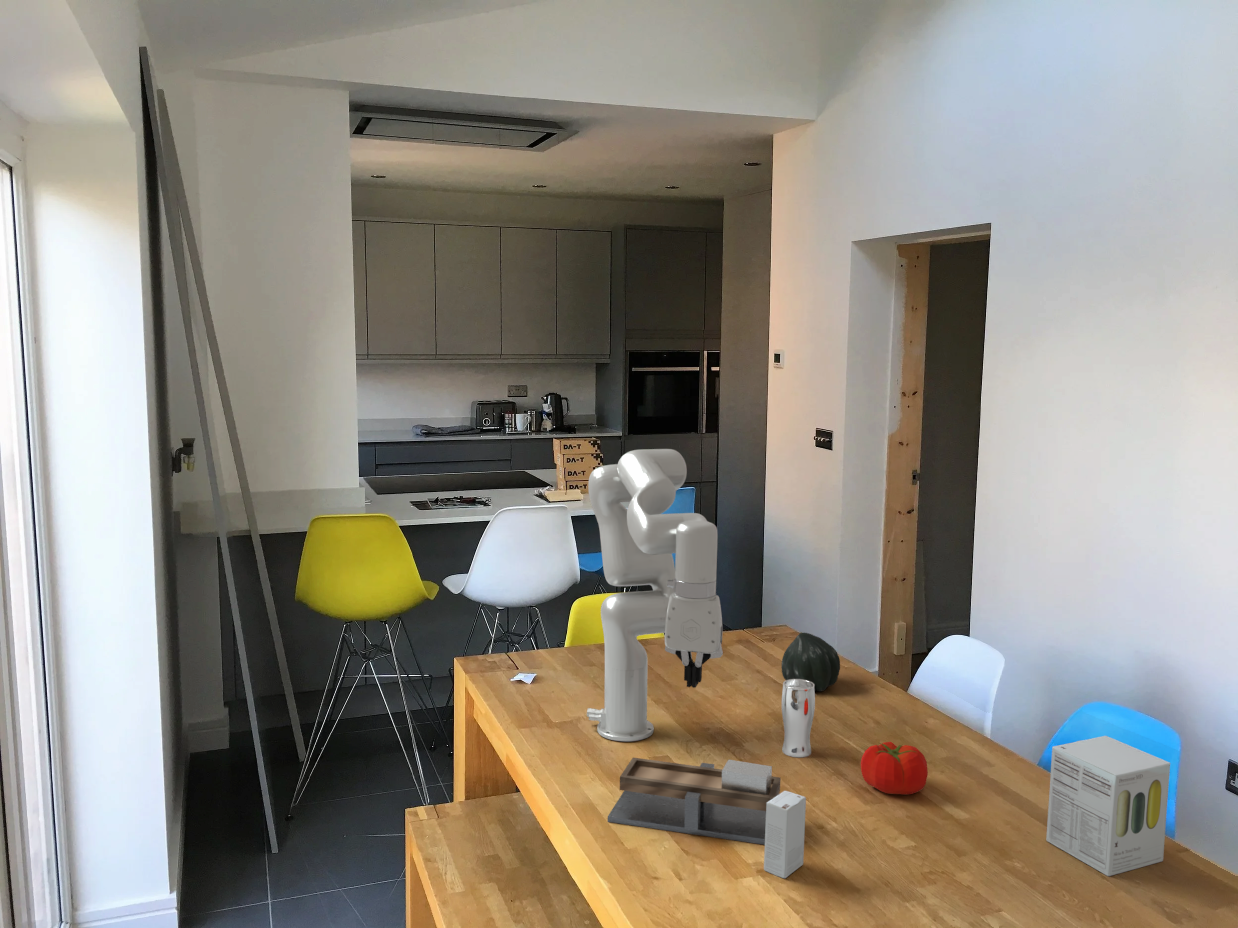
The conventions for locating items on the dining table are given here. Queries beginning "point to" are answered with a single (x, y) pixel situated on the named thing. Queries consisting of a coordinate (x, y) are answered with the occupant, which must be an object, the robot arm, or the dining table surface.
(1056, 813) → the supplement box
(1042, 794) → the dining table surface
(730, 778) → the steel block
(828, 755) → the dining table surface
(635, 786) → the long rimmed wooden tray
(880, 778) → the tomato
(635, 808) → the pivot stand
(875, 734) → the dining table surface
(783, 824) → the skincare box
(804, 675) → the squash
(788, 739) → the beer glass
